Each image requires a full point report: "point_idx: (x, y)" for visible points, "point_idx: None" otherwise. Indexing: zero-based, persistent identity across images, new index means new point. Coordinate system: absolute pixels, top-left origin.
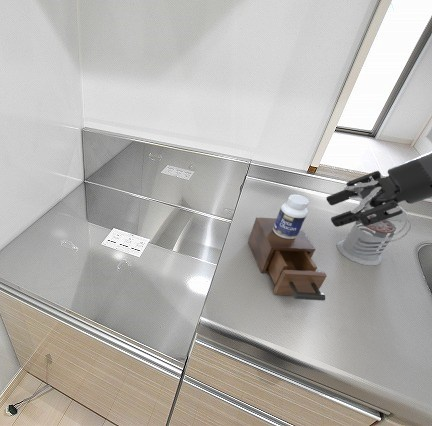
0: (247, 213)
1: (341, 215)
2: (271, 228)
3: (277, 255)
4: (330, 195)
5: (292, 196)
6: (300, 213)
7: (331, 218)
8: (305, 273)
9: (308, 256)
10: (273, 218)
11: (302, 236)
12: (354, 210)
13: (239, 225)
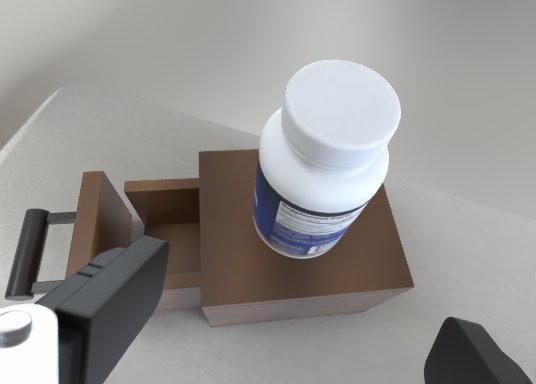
0: (494, 229)
1: (110, 263)
2: None
3: (182, 179)
4: (493, 342)
5: (365, 76)
6: (270, 146)
7: (159, 240)
8: (79, 234)
9: (178, 280)
10: (385, 201)
11: (283, 279)
12: (18, 318)
13: (414, 193)
